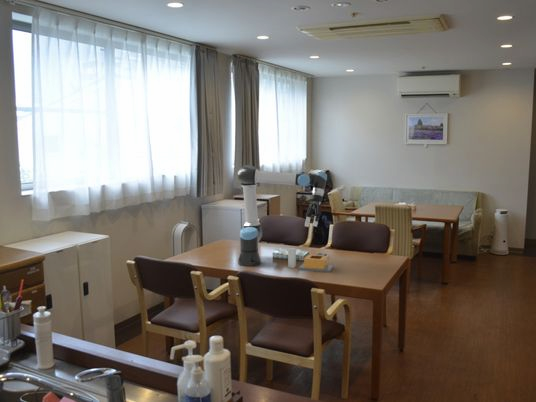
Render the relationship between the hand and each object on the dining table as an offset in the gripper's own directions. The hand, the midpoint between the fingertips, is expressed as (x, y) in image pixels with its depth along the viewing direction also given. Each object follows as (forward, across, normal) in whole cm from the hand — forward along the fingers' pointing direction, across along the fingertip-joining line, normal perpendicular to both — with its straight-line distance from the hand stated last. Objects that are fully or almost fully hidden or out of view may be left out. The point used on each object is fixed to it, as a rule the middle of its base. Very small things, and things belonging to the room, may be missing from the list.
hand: (310, 226), depth 331 cm
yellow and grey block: (+26, -9, -6) cm, 29 cm away
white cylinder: (+28, +1, +6) cm, 29 cm away
